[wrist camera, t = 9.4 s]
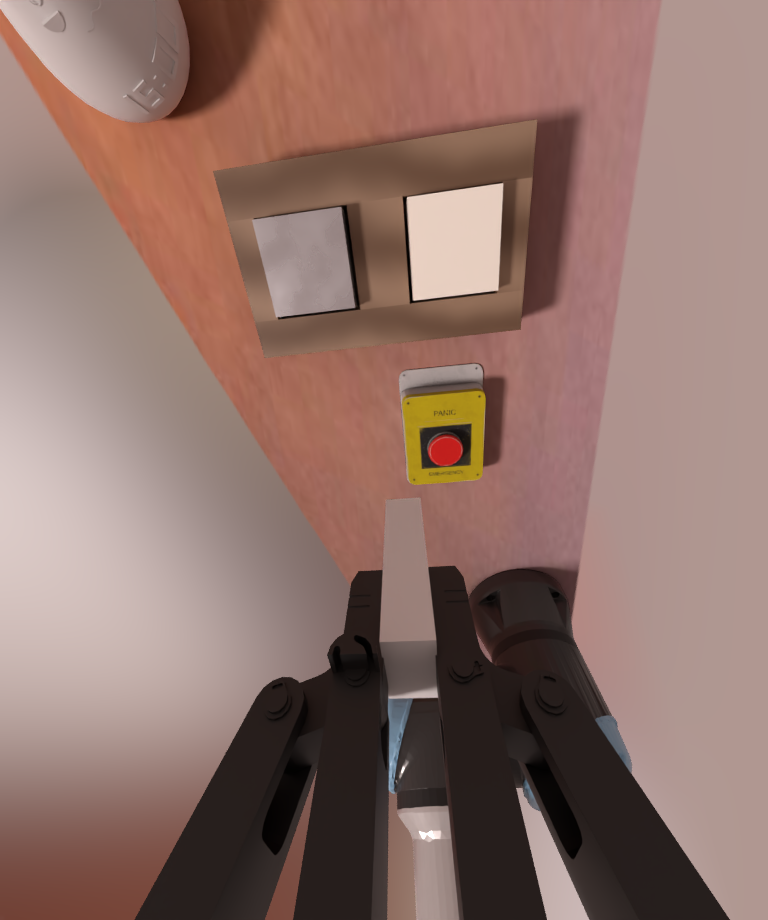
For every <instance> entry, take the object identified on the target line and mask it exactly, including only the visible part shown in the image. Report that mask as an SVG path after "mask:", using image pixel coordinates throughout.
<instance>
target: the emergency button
mask: <svg viewBox="0 0 768 920" xmlns="http://www.w3.org/2000/svg"><path fill="white" fill-rule="evenodd" d="M399 389H400V401H401V413H402V425H403V436H404V448H405V460H406V472H407V479H408V481H409V482H410V483H411V484H415V485H419V484H433V483H447V482H461V481H474V480H478V479H480V478H481V477H482V474H483V451H484V428H485V405H486V397H485V393H484V391H483V370H482V367H481V366H480V365H479V364H475V363H472V364H462V365H452V366H441V367H431V368H421V369H411V370H405V371H403V372H402V373H401V374H400V376H399Z"/></svg>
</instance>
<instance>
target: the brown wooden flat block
mask: <svg viewBox="0 0 768 920" xmlns="http://www.w3.org/2000/svg"><path fill="white" fill-rule="evenodd" d="M536 129H537V119H536V120H530V121H524V122H517V123H511V124H505V125H499V126H492V127H486V128H480V129H474V130H467V131H461V132H455V133H449V134H442V135H436V136H430V137H424V138H417V139H411V140H405V141H399V142H392V143H386V144H380V145H373V146H367V147H361V148H355V149H348V150H342V151H336V152H330V153H323V154H317V155H311V156H305V157H298V158H292V159H286V160H280V161H273V162H267V163H261V164H255V165H248V166H242V167H236V168H230V169H223V170H217V171H213V173H214V176H215V180H216V183H217V187H218V191H219V194H220V198H221V202H222V205H223V209H224V212H225V216H226V220H227V223H228V227H229V230H230V234H231V238H232V241H233V245H234V248H235V252H236V256H237V259H238V263H239V266H240V270H241V274H242V277H243V281H244V285H245V288H246V292H247V295H248V299H249V303H250V306H251V310H252V313H253V317H254V321H255V324H256V328H257V331H258V335H259V339H260V342H261V346H262V349H263V353H264V357H265V358H270V357H279V356H287V355H296V354H305V353H314V352H323V351H332V350H341V349H350V348H359V347H368V346H377V345H386V344H395V343H404V342H413V341H422V340H431V339H440V338H449V337H458V336H467V335H476V334H485V333H494V332H503V331H512V330H521V318H522V305H523V293H524V280H525V267H526V255H527V242H528V230H529V217H530V205H531V192H532V180H533V167H534V155H535V142H536ZM501 183H503V200H502V222H501V243H500V264H499V285H498V290H497V291H489V292H481V293H473V294H464V295H456V296H448V297H440V298H431V299H423V300H415V301H414V300H413V299H412V292H411V277H410V261H409V246H408V230H407V215H406V202H407V197H412V196H419V195H425V194H432V193H439V192H446V191H453V190H460V189H466V188H473V187H480V186H487V185H494V184H501ZM336 207H342V209H343V210H344V211H345V212H346V214H347V219H348V227H349V234H350V242H351V249H352V256H353V264H354V271H355V279H356V286H357V294H358V301H359V305H358V306H357V307H356V308H349V309H341V310H332V311H324V312H316V313H308V314H300V315H291V316H283V317H276V315H275V311H274V307H273V303H272V299H271V295H270V291H269V287H268V283H267V279H266V274H265V270H264V266H263V262H262V258H261V254H260V250H259V246H258V242H257V238H256V234H255V230H254V226H253V222H252V220H254V219H261V218H268V217H275V216H282V215H288V214H295V213H302V212H309V211H316V210H323V209H329V208H336Z"/></svg>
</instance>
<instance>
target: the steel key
mask: <svg viewBox="0 0 768 920" xmlns="http://www.w3.org/2000/svg"><path fill="white" fill-rule="evenodd" d="M252 222H253V226H254V230H255V234H256V238H257V242H258V246H259V250H260V254H261V258H262V262H263V266H264V270H265V274H266V279H267V283H268V287H269V291H270V295H271V299H272V303H273V307H274V311H275V315H276V317H283V316H291V315H300V314H308V313H316V312H324V311H332V310H341V309H349V308H356V307H357V306H358V305H359V301H358V294H357V286H356V279H355V271H354V264H353V256H352V249H351V242H350V234H349V227H348V219H347V214H346V212H345V211H344V210H343V209H342V207H336V208H329V209H323V210H316V211H309V212H302V213H295V214H288V215H282V216H275V217H268V218H261V219H254V220H252Z"/></svg>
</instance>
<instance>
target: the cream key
mask: <svg viewBox="0 0 768 920" xmlns="http://www.w3.org/2000/svg"><path fill="white" fill-rule="evenodd" d="M502 200H503V183H501V184H494V185H487V186H480V187H473V188H466V189H460V190H453V191H446V192H439V193H432V194H425V195H419V196H412V197H407V202H406V215H407V230H408V246H409V261H410V277H411V292H412V299H413V300H414V301H415V300H423V299H431V298H440V297H448V296H456V295H464V294H473V293H481V292H489V291H497V290H498V285H499V264H500V243H501V222H502Z"/></svg>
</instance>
